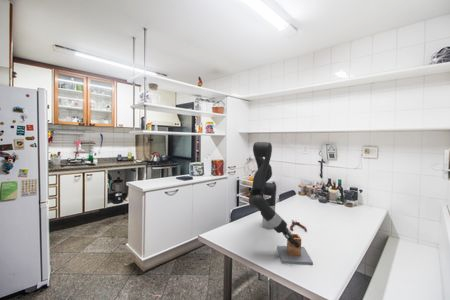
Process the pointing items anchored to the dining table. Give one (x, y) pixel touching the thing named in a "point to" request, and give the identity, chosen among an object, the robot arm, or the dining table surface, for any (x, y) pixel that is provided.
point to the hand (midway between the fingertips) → (296, 242)
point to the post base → (288, 259)
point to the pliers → (297, 225)
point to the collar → (291, 248)
